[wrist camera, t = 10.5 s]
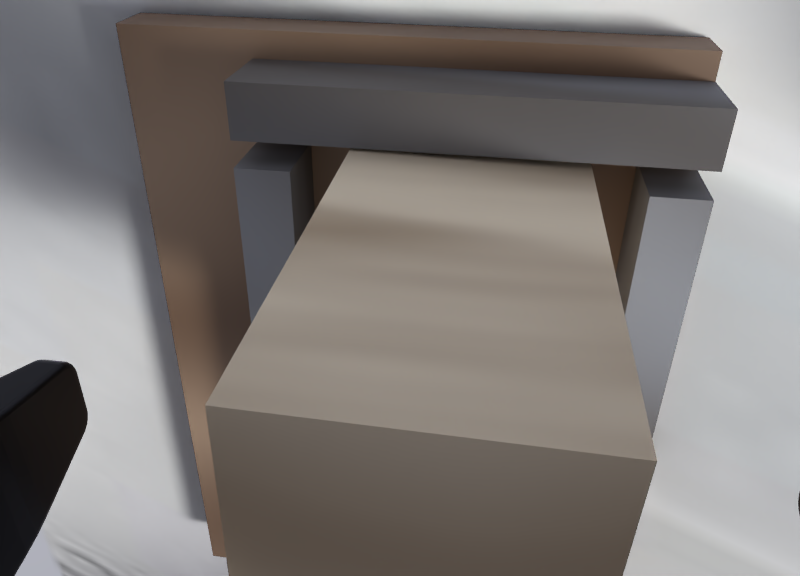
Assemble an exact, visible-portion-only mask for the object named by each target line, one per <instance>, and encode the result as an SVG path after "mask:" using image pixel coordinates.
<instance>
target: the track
mask: <svg viewBox="0 0 800 576" xmlns="http://www.w3.org/2000/svg"><path fill="white" fill-rule="evenodd" d="M116 27H117V33H118V38H119V44H120V49H121V55H122V60H123V65H124V71H125V76H126V82H127V87H128V93H129V98H130V104H131V109H132V115H133V120H134V125H135V131H136V136H137V142H138V147H139V153H140V158H141V164H142V169H143V175H144V180H145V185H146V191H147V196H148V202H149V207H150V213H151V218H152V224H153V229H154V235H155V240H156V246H157V251H158V256H159V262H160V267H161V273H162V278H163V284H164V289H165V295H166V300H167V306H168V311H169V316H170V322H171V327H172V333H173V338H174V344H175V349H176V355H177V360H178V366H179V371H180V376H181V382H182V387H183V393H184V398H185V404H186V409H187V415H188V420H189V426H190V431H191V436H192V442H193V447H194V453H195V458H196V464H197V469H198V475H199V480H200V486H201V491H202V497H203V502H204V507H205V513H206V518H207V524H208V529H209V535H210V540H211V546H212V551H213V556H220V557H226V552H225V544H224V537H223V530H222V523H221V516H220V509H219V502H218V494H217V487H216V480H215V473H214V466H213V459H212V452H211V444H210V437H209V430H208V423H207V416H206V409H205V404H206V403H207V401H208V399H209V397H210V396H211V394H212V392H213V390H214V389H215V387H216V385H217V383H218V382H219V380H220V378H221V376H222V374H223V373H224V371H225V369H226V367H227V366H228V364H229V362H230V360H231V359H232V357H233V355H234V353H235V351H236V350H237V348H238V346H239V344H240V343H241V341H242V339H243V337H244V336H245V334H246V332H247V330H248V329H249V327H250V325H251V323H252V321H253V320H254V318H255V316H256V314H257V313H258V311H259V309H260V307H261V306H262V304H263V302H264V300H265V298H266V297H267V295H268V293H269V291H270V290H271V288H272V286H273V284H274V283H275V281H276V279H277V277H278V276H279V274H280V272H281V270H282V268H283V267H284V265H285V263H286V261H287V260H288V258H289V256H290V254H291V253H292V251H293V249H294V247H295V245H296V244H297V242H298V240H299V238H300V237H301V235H302V233H303V231H304V230H305V228H306V226H307V224H308V223H309V221H310V219H311V217H312V215H313V214H314V212H315V210H316V208H317V207H318V205H319V203H320V201H321V200H322V198H323V196H324V194H325V192H326V191H327V189H328V187H329V185H330V184H331V182H332V180H333V178H334V177H335V175H336V173H337V171H338V170H339V168H340V166H341V164H342V162H343V161H344V159H345V157H346V155H347V154H348V152H349V150H350V148H357V149H372V150H388V151H404V152H419V153H435V154H451V155H466V156H482V157H498V158H513V159H529V160H545V161H560V162H576V163H591V165H592V170H593V174H594V179H595V183H596V188H597V192H598V197H599V201H600V206H601V210H602V215H603V219H604V224H605V228H606V233H607V237H608V242H609V246H610V251H611V256H612V260H613V265H614V269H615V274H616V278H617V283H618V287H619V292H620V296H621V301H622V305H623V310H624V314H625V319H626V323H627V328H628V332H629V337H630V341H631V346H632V350H633V355H634V359H635V364H636V368H637V373H638V377H639V382H640V386H641V391H642V395H643V400H644V404H645V409H646V413H647V418H648V423H649V427H650V432H651V436H652V437H653V433H654V429H655V425H656V421H657V418H658V414H659V410H660V406H661V402H662V398H663V395H664V391H665V387H666V383H667V379H668V375H669V372H670V368H671V364H672V360H673V356H674V352H675V349H676V345H677V341H678V337H679V333H680V329H681V326H682V322H683V318H684V314H685V310H686V306H687V303H688V299H689V295H690V291H691V287H692V283H693V280H694V276H695V272H696V268H697V264H698V260H699V257H700V253H701V249H702V245H703V241H704V237H705V234H706V230H707V226H708V222H709V218H710V214H711V211H712V207H713V203H714V200H713V198H712V196H711V195H710V193H709V191H708V189H707V187H706V185H705V184H704V182H703V180H702V178H701V176H700V174H699V173H698V171H697V170H701V171H717V172H722V168H723V165H724V161H725V157H726V153H727V149H728V145H729V142H730V138H731V134H732V130H733V126H734V122H735V119H736V115H737V111H738V109H737V107H736V106H735V105H734V104H733V103H732V101H731V100H730V99H729V98H728V97H727V95H726V94H725V93H724V92H723V91H722V89H721V88H720V87H719V86H718V85H717V83H716V82H715V81H716V76H717V72H718V68H719V64H720V60H721V56H722V50H721V49H720V48H719V47H718V46H717V45H716V44H715V43H714V42H713V41H712V40H711V39H710V38H707V37H685V36H662V35H639V34H616V33H593V32H570V31H547V30H524V29H501V28H478V27H456V26H433V25H410V24H387V23H364V22H341V21H318V20H295V19H272V18H249V17H227V16H204V15H181V14H158V13H139V14H136V15H134V16H132V17H130V18H127V19H125V20H123V21H120V22H118V23H116Z"/></svg>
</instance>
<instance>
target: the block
mask: <svg viewBox="0 0 800 576" xmlns="http://www.w3.org/2000/svg"><path fill="white" fill-rule="evenodd" d="M205 409H206V416H207V423H208V430H209V437H210V444H211V452H212V459H213V466H214V473H215V480H216V487H217V494H218V502H219V509H220V516H221V523H222V530H223V537H224V544H225V552H226V559H227V566H228V573H229V576H623V572H624V569H625V566H626V563H627V559H628V556H629V553H630V549H631V546H632V543H633V539H634V536H635V533H636V529H637V526H638V523H639V519H640V516H641V513H642V509H643V506H644V503H645V500H646V496H647V493H648V490H649V486H650V483H651V480H652V476H653V473H654V470H655V466H656V463H657V459H656V454H655V450H654V445H653V441H652V436H651V432H650V427H649V423H648V418H647V413H646V409H645V404H644V400H643V395H642V391H641V386H640V382H639V377H638V373H637V368H636V364H635V359H634V355H633V350H632V346H631V341H630V337H629V332H628V328H627V323H626V319H625V314H624V310H623V305H622V301H621V296H620V292H619V287H618V283H617V278H616V274H615V269H614V265H613V260H612V256H611V251H610V246H609V242H608V237H607V233H606V228H605V224H604V219H603V215H602V210H601V206H600V201H599V197H598V192H597V188H596V183H595V179H594V174H593V170H592V165H591V163H576V162H560V161H545V160H529V159H513V158H498V157H482V156H466V155H451V154H435V153H419V152H404V151H388V150H372V149H357V148H350V150H349V152H348V154H347V155H346V157H345V159H344V161H343V162H342V164H341V166H340V168H339V170H338V171H337V173H336V175H335V177H334V178H333V180H332V182H331V184H330V185H329V187H328V189H327V191H326V192H325V194H324V196H323V198H322V200H321V201H320V203H319V205H318V207H317V208H316V210H315V212H314V214H313V215H312V217H311V219H310V221H309V223H308V224H307V226H306V228H305V230H304V231H303V233H302V235H301V237H300V238H299V240H298V242H297V244H296V245H295V247H294V249H293V251H292V253H291V254H290V256H289V258H288V260H287V261H286V263H285V265H284V267H283V268H282V270H281V272H280V274H279V276H278V277H277V279H276V281H275V283H274V284H273V286H272V288H271V290H270V291H269V293H268V295H267V297H266V298H265V300H264V302H263V304H262V306H261V307H260V309H259V311H258V313H257V314H256V316H255V318H254V320H253V321H252V323H251V325H250V327H249V329H248V330H247V332H246V334H245V336H244V337H243V339H242V341H241V343H240V344H239V346H238V348H237V350H236V351H235V353H234V355H233V357H232V359H231V360H230V362H229V364H228V366H227V367H226V369H225V371H224V373H223V374H222V376H221V378H220V380H219V382H218V383H217V385H216V387H215V389H214V390H213V392H212V394H211V396H210V397H209V399H208V401H207V403H206V404H205Z"/></svg>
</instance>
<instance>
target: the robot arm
mask: <svg viewBox="0 0 800 576" xmlns="http://www.w3.org/2000/svg"><path fill="white" fill-rule="evenodd" d="M87 420H88V413H87V408H86V404H85V401H84V397H83V393H82V390H81V386H80V383H79V379H78V375H77V372H76V370H75V368H74V367H73V365H71V364H70V363H68V362H62V361H52V360H37V361H34V362H32V363H30V364H28V365H26V366H24V367H22V368H19V369H17V370H15V371H13V372H11V373H9V374H7V375H5V376H3V377H1V378H0V576H15V574H16V572H17V570H18V569H19V567H20V565H21V564H22V562H23V560H24V558H25V557H26V555H27V553H28V551H29V549H30V548H31V546H32V544H33V542H34V540H35V539H36V537H37V535H38V533H39V531H40V529H41V527H42V525H43V523H44V521H45V519H46V517H47V514H48V512H49V510H50V508H51V505H52V503H53V501H54V499H55V497H56V494H57V492H58V490H59V488H60V485H61V483H62V481H63V479H64V477H65V474H66V472H67V470H68V468H69V465H70V463H71V461H72V459H73V457H74V454H75V452H76V450H77V448H78V446H79V443H80V441H81V439H82V437H83V434H84V432H85V429H86V426H87ZM798 506H799V514H800V493H799V500H798Z"/></svg>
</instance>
